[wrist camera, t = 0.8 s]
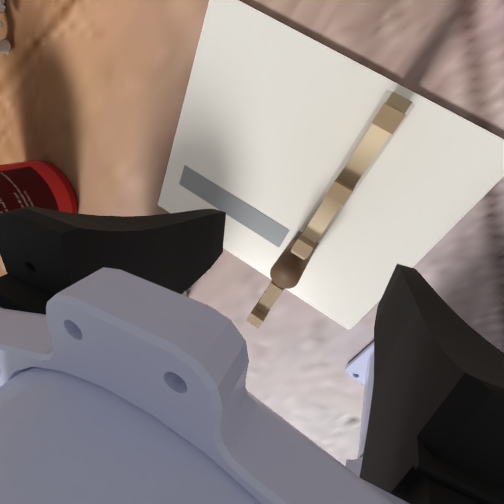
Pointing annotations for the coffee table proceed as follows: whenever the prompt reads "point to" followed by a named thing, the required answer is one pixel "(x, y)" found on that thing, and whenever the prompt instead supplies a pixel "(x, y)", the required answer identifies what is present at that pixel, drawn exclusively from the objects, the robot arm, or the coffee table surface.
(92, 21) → the coffee table surface
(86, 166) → the coffee table surface
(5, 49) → the bull figurine
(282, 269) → the wooden pieces
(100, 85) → the coffee table surface
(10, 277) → the robot arm
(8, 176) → the canned food
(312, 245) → the fence panel
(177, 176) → the card
